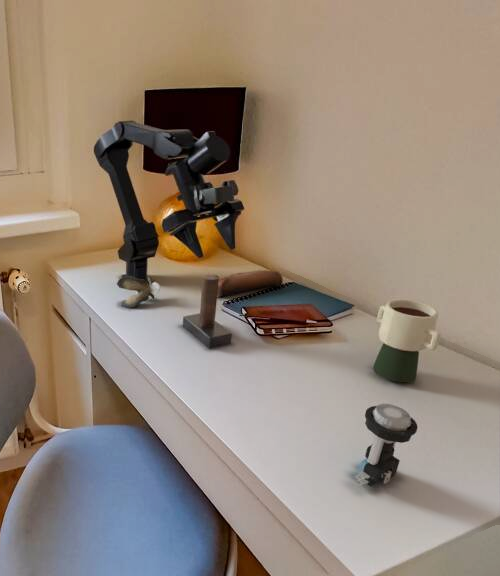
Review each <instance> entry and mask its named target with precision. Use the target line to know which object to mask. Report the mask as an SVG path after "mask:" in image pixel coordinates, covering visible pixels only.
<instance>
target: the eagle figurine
mask: <svg viewBox="0 0 500 576" xmlns="http://www.w3.org/2000/svg"><path fill="white" fill-rule="evenodd" d="M148 277H149V278H148V280H149V282H148V283H147V282H146V281H145V280H144V279H138V278H135V277H133V276H125V277H120V278H119V279H118V280H117V282H116V285H117V287H118V288H119V289H123V290H127V291H136V293H135V294H134V295H131V296H130V297H128V298H127V299H124V300H122V301H121V302H120V306H121V307H123V308H134V307H136V306H138V305H140V304H141V303H144V302H147V301H148V300H149V299H150V297H151V299H152V300H155V296H157V295H158V294H159V292H160V291H161V286H160V284H159V283H158V282H156V281H154V280H153V279H152V278H151V276H148ZM150 278H151V279H152V280H151V279H150Z"/></svg>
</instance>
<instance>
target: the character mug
mask: <svg viewBox="0 0 500 576" xmlns="http://www.w3.org/2000/svg"><path fill="white" fill-rule="evenodd" d="M438 317H439V311H438V310H437V309H436V308H435V307H433V306H432V305H429V304H427V303H424V302H420V301H416V300H410V299H391V300H389V301H387V303H386V305H383V304H382V305H380V307H379V309H378V313H377V316H376V322H378V323H379V324H380V325H379V330H378V338H379V340H380V341H381V342H382V345H381V347H380V349H379V351H378V354H377V355H376V358H375V361H374V362H373V363H374V364H373V367H372V370H373V372H374V373H375V375H377V376H379V377H381V378H382V379H386V380H388V381H392V382H399V383H408V382H410V383H411V382H414V381H416V378H417V374H418V373H417V372H418V366H419V357H420V352H421V351H423V350H426V349H428V350H431V351H436V350H437V348H438V346H439V343H440V340H441V337H442V333H441V332H440V331H438V330H437V329H436V327H437V320H438Z"/></svg>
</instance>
